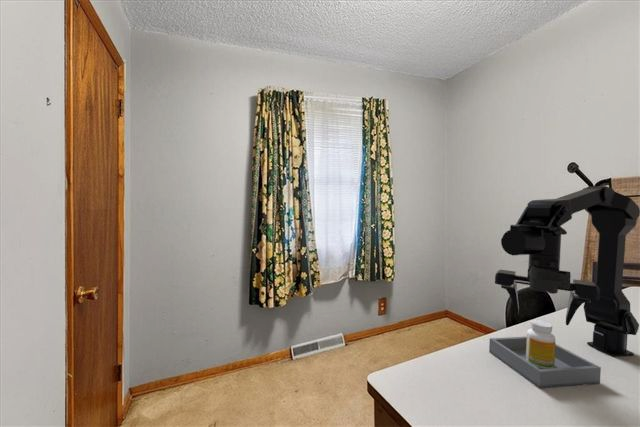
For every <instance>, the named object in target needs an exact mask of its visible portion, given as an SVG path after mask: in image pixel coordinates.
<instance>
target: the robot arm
mask: <svg viewBox="0 0 640 427" xmlns="http://www.w3.org/2000/svg"><path fill="white" fill-rule="evenodd" d="M581 211H585V212H587V214H588V215H590V216H591V219H590V220H591V224H592V226H593V227H594V228H595V230H596V231H597V233H598V247H597V262H596V263H597V264H596V277H595V282H594V281H591V280H589V281H588V280H581V279H576V278H575V279H572V282H571V271H567V270H560V269H561V268H560V265H561V264H560V263H561V245H562V235H563V236H564V235H567V234H568V232H567V231H566V229H565V228H563V227H562V225H564V224H566V223H568V222H569V221H571V220H572V218H573V215H574V214H576V213H578V212H581ZM639 217H640V206H639V205H638V203H636V202H635V201H634V200H633V199H632V198H631V197H629V196H627V195H624V194H622V193H619V192H616V191H615V189H613V188H612V187H611V186H607V185H605V186H604V185H602V186H601V185H600V186H587V187H583V188H582V189H580V190H578V191H575V192H572V193H568V194H565V195H563V196H559V197H557V198H546V199H535V200H534V199H533V200H531V201H529V202H528V203H527V204H526V207H525V208H524V210H523V212H522V213H521V215H520V217H519V218H518V220H517V221H516V223H515V224H510V226H509V227H510V228H509V230H507V231H506V232H505V233H503V235H502V238H501V239H500V244H501V247H502V249H503V251H504V252H505V253H507V254H508V255H510V256H527V255H528V269H527V276H524V275H516V273H517V272H516V271H513V270H506V269H498V270H497V272H496V273H495V275H494V284H496V285H500V288H501V289H504V290H506V291H507V293H508V295H509V298H510V300H511V303H512V305H513V309H514V312H515V315H516V316H519V313H520V312H519V311H520V306H519V296H518V286H517V285H518V284H521V285H527V286H529V289H530V290H531V291H534V292H538V291H539V292H544V293H545V292H546V293H548V294H552V295H553V294H558V291H567V292H569V297H568V303H567V309H566V314H565V326H569V325H570V323H571V321H572V319H573V317H574V315H575V314H576V312H577V310H578V309H579V308H580V306H582V305H583V311H584V317H585V321H586V322H588V323H590V324H593V325H594V326H593V332H592V341H587V342H586V344H587V345H588V346H590V347H592V348H595V349H597V350H599V351H600V352H603V353H605V354H607V355H610V356H612V357H621V356H623V357H624V356H625V357H626V356H634V355H635V354H634V352H633V351H631V350H629V349H628V335H632V336H636V335H637V333H638V331H639V328H640V327H639V326H640V324H639V322H638V320H637V319H636V318H635V316H634V315H633V313H632V312H631V303H630V301H629V299H628V297H627V296H626V295H625V294H624V292H623V278H624V265H625V252H626V238H627V235H628V234H629V233H630V232H631V231H632V230H633V229H634V228H635V227H636V226H637V222H638V218H639Z"/></svg>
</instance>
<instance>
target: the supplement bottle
mask: <svg viewBox="0 0 640 427" xmlns="http://www.w3.org/2000/svg"><path fill="white" fill-rule="evenodd" d="M526 336H527V343H526V360H527V361H528V362H530V363H531V364H533V365H534V366H536V367H538V368H541V369H552V368H554V365H555V344H556V342H557V341H556V337H555V335H554V334H553V325H552V324H551V323H548V322H546V321H543V320H538V319H534V320H530V328H529V329H527V331H526Z"/></svg>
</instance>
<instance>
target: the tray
mask: <svg viewBox="0 0 640 427" xmlns="http://www.w3.org/2000/svg"><path fill="white" fill-rule="evenodd" d="M526 343H527V335H526V336H514V337H513V336H511V337H510V336H509V337H490V338H489V346H488V348H489V350H488V351H489V353H490V354H491V355H493V356H494V357H495V358H497V359H498V360H500V361H501V362H503V363H504V364H505V365H507V366H508V367H509V368H511V369H512V371H513V370H514V371H515V372H516V373H518V374H519V375H520V376H522V377H523V378H524V379H526V380H527V381H528V382H530V383H531V384H532V385H534V386H535V387H537V388H538V389H550V388H551V389H552V388H554V389H555V388H563V387H565V388H566V387H577V386H590V385H600V384H601V375H602V374H601V370H602V368H601V367H600V366H599V365H596V364H595V363H593V362H592V361H589V360H587V359H585V358H583V357H581V356H580V355H579V354H578V355H577V354H576V353H574V352H572V351H570V350H569V349H566V348H564V347H562V346H561V345H559V344H557V343H555V365H554V368H552V369H541V368H538V367H536V366H534V365H533V364H531V363H530V362H528V361H527V360H526Z"/></svg>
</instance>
